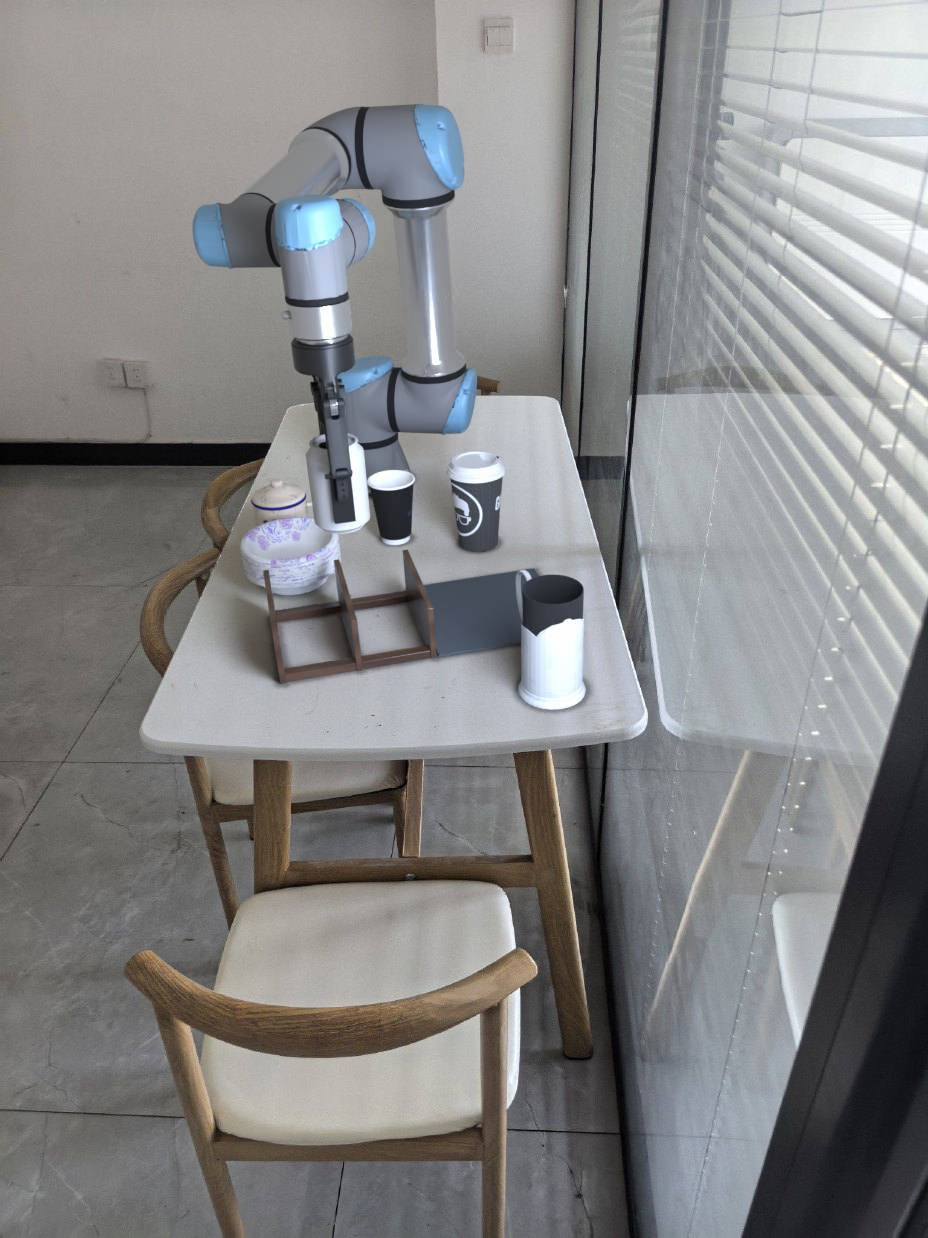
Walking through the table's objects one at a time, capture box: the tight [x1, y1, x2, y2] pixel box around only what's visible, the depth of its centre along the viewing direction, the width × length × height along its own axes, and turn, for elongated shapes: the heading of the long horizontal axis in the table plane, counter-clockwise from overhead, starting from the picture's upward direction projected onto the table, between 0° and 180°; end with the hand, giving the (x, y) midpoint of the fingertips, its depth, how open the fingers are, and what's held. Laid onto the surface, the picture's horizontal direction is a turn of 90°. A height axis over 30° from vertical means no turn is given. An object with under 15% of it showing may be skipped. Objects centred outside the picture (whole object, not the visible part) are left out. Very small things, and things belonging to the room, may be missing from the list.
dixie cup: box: [367, 470, 416, 546], centre depth 162 cm, size 8×8×11 cm
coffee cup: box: [446, 449, 507, 553], centre depth 158 cm, size 10×10×15 cm
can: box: [305, 433, 371, 535], centre depth 126 cm, size 8×8×12 cm
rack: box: [263, 549, 438, 684], centre depth 136 cm, size 18×21×8 cm
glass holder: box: [516, 569, 587, 711], centre depth 124 cm, size 9×14×15 cm, turn 24°
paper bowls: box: [239, 516, 342, 596], centre depth 151 cm, size 15×15×8 cm
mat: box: [423, 567, 540, 658], centre depth 143 cm, size 20×20×1 cm
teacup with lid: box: [250, 477, 313, 526], centre depth 162 cm, size 12×9×12 cm
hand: (341, 508), depth 128 cm, fingers closed on can, 7 cm apart
